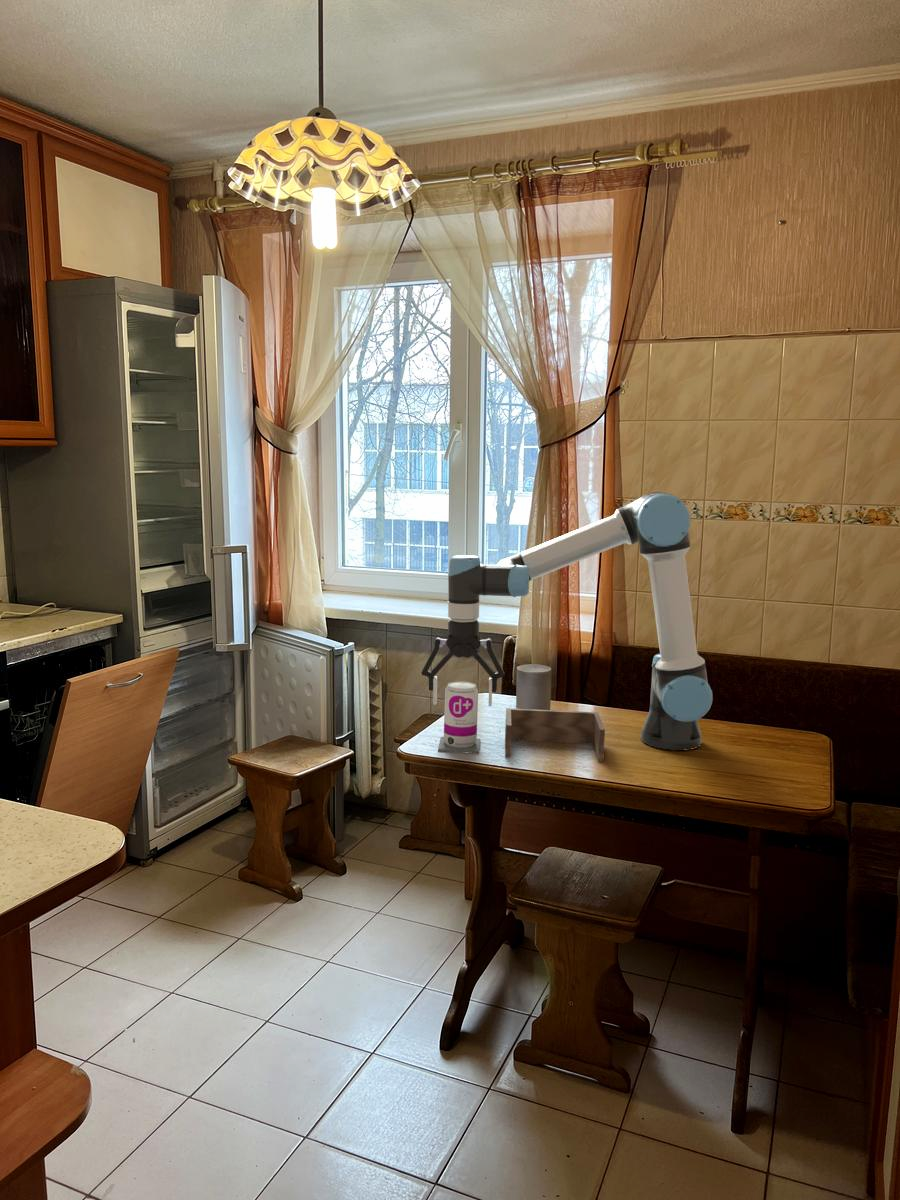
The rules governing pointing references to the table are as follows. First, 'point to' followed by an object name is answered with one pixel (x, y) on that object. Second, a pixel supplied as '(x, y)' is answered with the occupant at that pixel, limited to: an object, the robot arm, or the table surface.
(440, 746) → the rubber mat
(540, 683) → the pillar candle
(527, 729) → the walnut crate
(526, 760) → the table surface
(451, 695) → the supplement can
